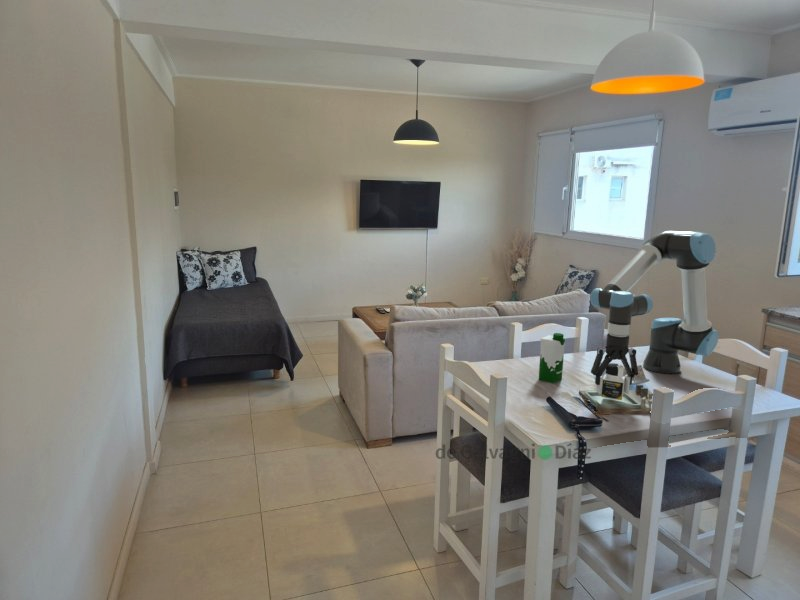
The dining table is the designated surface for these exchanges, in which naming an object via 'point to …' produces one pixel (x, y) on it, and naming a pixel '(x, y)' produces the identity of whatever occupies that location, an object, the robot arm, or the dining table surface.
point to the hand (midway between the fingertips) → (612, 392)
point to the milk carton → (552, 358)
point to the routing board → (622, 401)
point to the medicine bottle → (613, 382)
